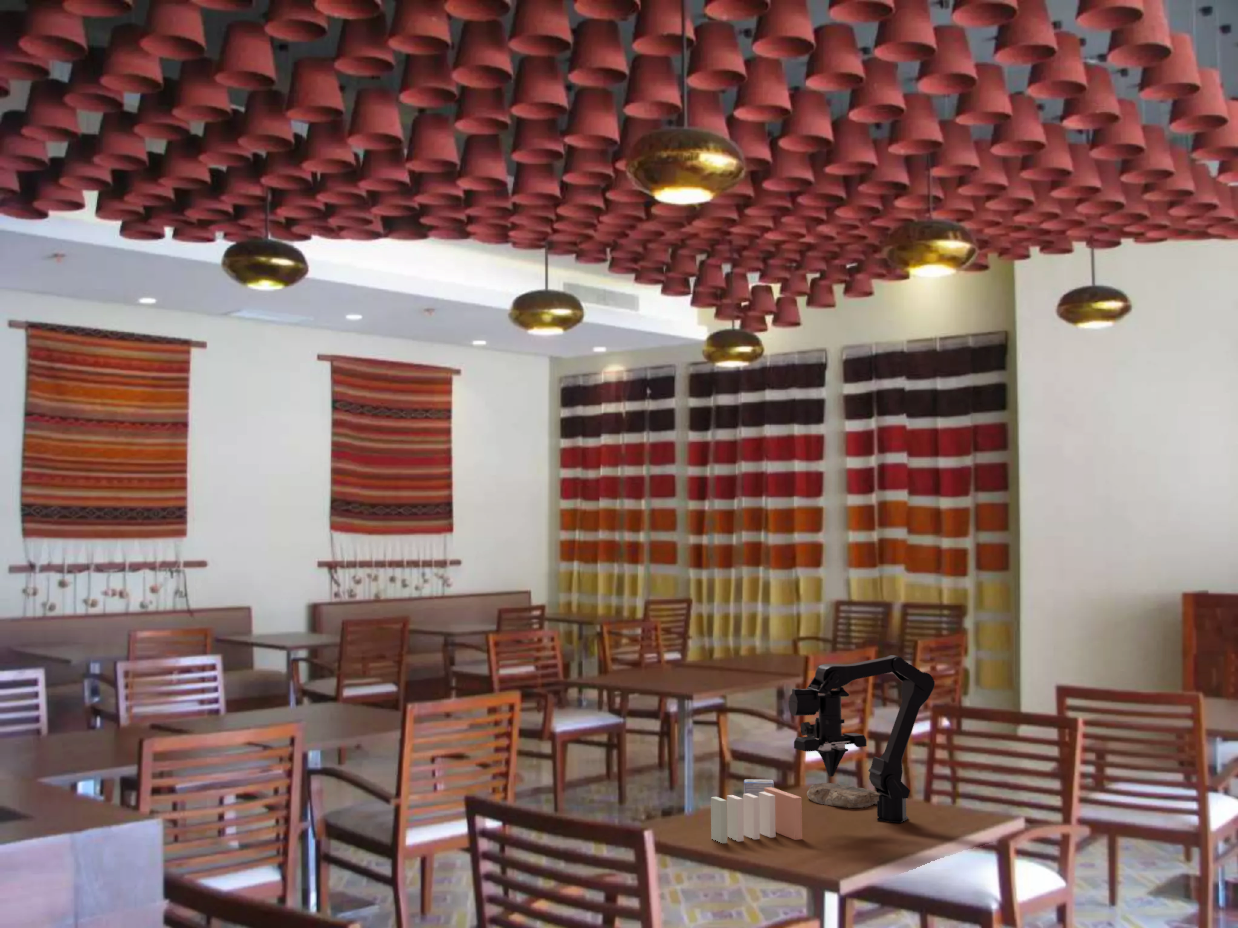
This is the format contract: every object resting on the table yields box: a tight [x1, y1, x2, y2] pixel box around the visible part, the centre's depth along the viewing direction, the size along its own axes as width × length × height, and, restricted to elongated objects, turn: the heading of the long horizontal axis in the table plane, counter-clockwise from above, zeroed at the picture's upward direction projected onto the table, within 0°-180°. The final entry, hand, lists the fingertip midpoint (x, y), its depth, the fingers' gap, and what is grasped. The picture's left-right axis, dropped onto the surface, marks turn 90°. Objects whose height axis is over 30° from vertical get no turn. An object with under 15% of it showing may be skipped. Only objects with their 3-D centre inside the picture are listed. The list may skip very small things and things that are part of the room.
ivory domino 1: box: [726, 794, 745, 842], centre depth 303 cm, size 2×5×10 cm, turn 25°
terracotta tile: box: [764, 787, 803, 841], centre depth 309 cm, size 2×14×10 cm, turn 24°
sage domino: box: [710, 796, 728, 844], centre depth 302 cm, size 2×5×10 cm, turn 24°
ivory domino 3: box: [759, 792, 777, 838], centre depth 307 cm, size 2×5×10 cm, turn 24°
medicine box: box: [743, 778, 775, 797], centre depth 331 cm, size 8×4×9 cm, turn 84°
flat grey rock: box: [806, 782, 880, 809], centre depth 346 cm, size 14×5×20 cm
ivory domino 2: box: [742, 793, 761, 840], centre depth 305 cm, size 2×5×10 cm, turn 24°
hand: (830, 776), depth 319 cm, fingers closed
